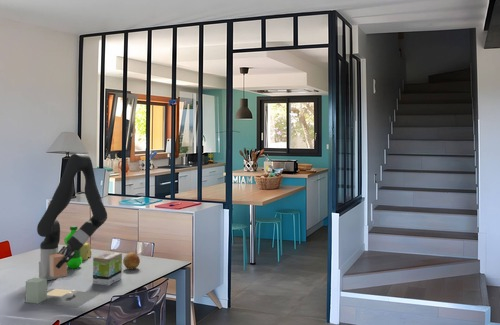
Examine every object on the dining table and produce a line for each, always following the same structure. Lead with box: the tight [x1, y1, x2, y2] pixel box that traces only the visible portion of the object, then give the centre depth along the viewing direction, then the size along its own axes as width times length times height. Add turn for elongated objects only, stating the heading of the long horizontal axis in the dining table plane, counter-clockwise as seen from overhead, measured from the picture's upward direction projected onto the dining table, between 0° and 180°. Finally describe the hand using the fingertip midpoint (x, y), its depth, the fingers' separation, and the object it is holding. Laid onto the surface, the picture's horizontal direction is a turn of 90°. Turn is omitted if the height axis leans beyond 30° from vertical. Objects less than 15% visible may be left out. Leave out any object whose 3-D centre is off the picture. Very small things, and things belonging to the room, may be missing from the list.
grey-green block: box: [25, 277, 48, 304], centre depth 237 cm, size 7×7×10 cm
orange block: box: [50, 253, 68, 278], centre depth 248 cm, size 7×7×10 cm
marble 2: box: [70, 289, 77, 296], centre depth 244 cm, size 3×3×3 cm
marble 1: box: [66, 292, 73, 298], centre depth 241 cm, size 3×3×3 cm
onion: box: [122, 252, 141, 270], centre depth 297 cm, size 10×10×10 cm
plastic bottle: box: [64, 225, 83, 270], centre depth 299 cm, size 10×10×25 cm
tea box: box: [92, 251, 123, 286], centre depth 271 cm, size 15×10×15 cm
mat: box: [24, 288, 102, 309], centre depth 241 cm, size 28×22×1 cm
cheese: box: [81, 241, 92, 261], centre depth 321 cm, size 10×11×10 cm
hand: (55, 266), depth 247 cm, fingers closed on orange block, 6 cm apart
